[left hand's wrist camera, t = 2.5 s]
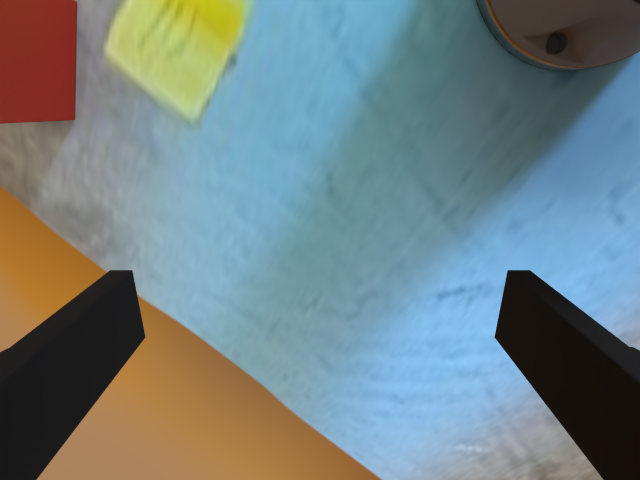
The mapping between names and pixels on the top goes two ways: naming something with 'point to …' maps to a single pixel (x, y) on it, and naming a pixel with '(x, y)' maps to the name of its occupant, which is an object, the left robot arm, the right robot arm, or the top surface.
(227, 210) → the top surface
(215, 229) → the top surface
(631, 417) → the left robot arm
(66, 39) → the brick
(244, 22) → the top surface
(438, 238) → the top surface
